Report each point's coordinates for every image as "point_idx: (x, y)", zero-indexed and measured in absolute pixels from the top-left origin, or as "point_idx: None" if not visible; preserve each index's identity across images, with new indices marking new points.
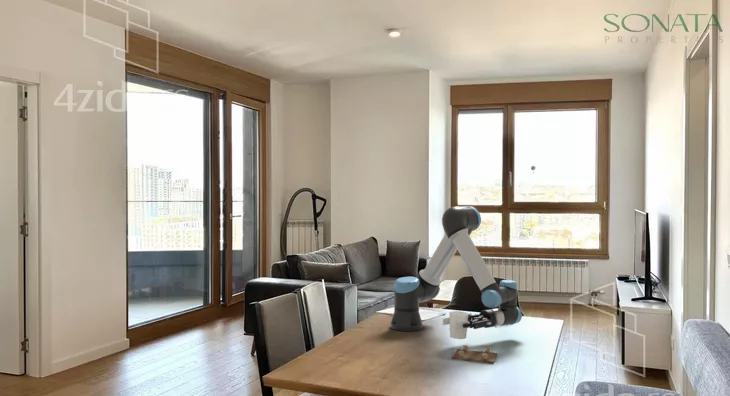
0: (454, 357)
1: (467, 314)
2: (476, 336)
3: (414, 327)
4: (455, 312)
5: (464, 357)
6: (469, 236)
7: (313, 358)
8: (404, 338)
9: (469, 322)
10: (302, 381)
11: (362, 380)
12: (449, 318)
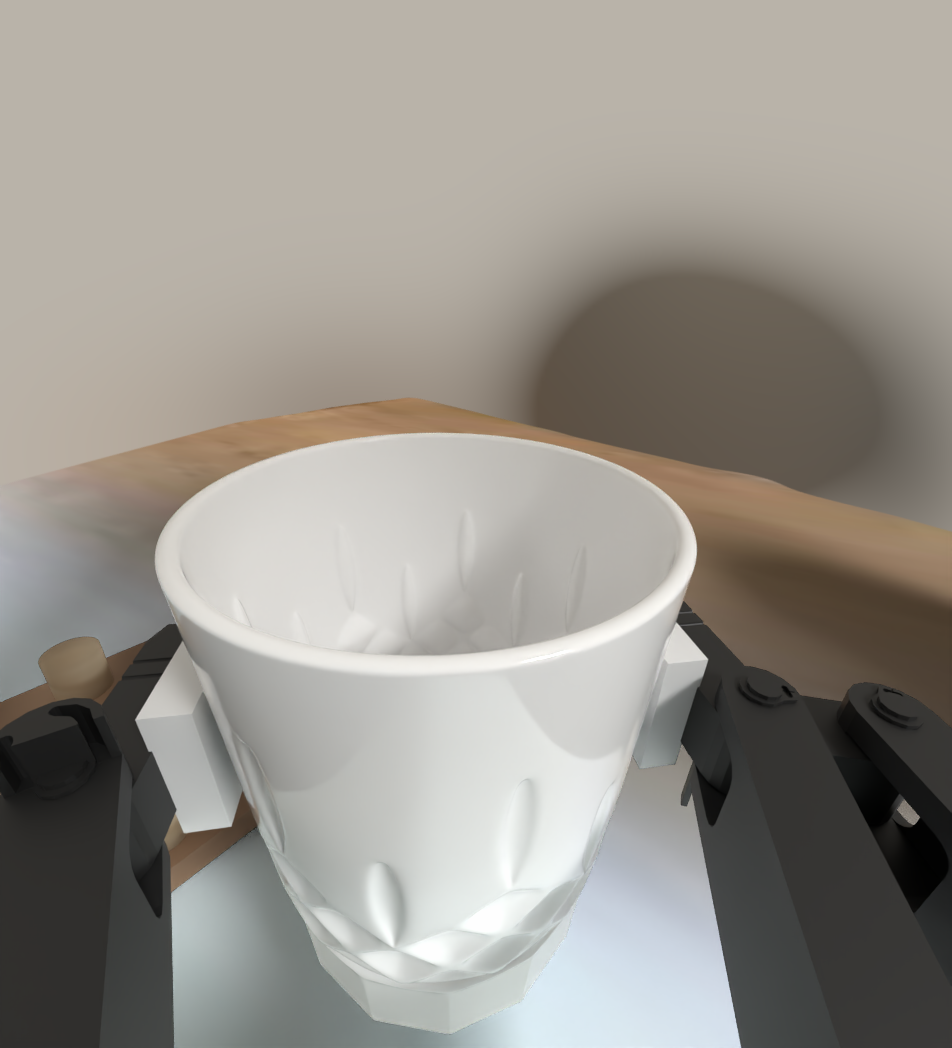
0: (137, 646)
1: (174, 571)
2: None
3: None
4: (663, 541)
5: (44, 697)
6: None
7: (500, 427)
8: (785, 625)
9: (117, 750)
10: (354, 406)
11: (272, 435)
12: (507, 526)
